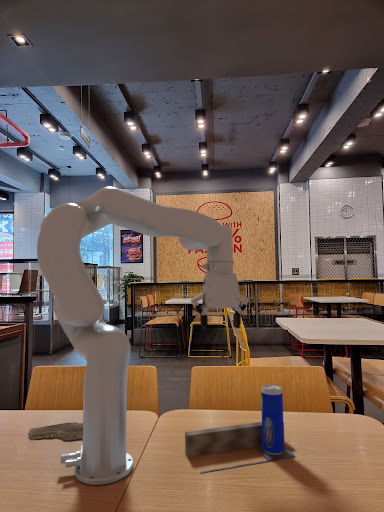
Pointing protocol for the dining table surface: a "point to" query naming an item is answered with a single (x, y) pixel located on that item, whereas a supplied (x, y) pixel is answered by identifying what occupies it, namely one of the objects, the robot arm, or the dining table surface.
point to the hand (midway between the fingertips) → (220, 328)
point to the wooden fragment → (58, 432)
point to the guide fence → (229, 442)
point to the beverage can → (272, 419)
